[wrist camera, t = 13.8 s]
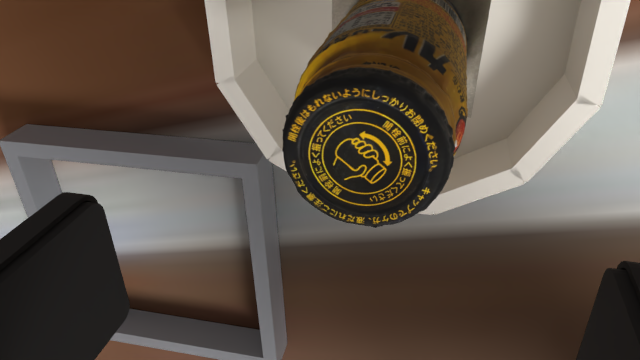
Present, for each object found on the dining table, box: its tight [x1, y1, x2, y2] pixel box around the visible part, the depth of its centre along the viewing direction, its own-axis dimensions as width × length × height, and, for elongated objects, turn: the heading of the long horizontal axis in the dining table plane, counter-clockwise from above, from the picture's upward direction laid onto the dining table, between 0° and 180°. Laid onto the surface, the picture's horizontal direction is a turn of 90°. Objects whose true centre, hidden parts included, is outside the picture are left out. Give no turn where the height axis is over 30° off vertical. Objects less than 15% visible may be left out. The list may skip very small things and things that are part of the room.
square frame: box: [0, 124, 287, 360], centre depth 36 cm, size 17×17×2 cm
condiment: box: [282, 0, 491, 228], centre depth 20 cm, size 7×8×12 cm
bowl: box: [205, 0, 631, 215], centre depth 24 cm, size 17×17×4 cm
